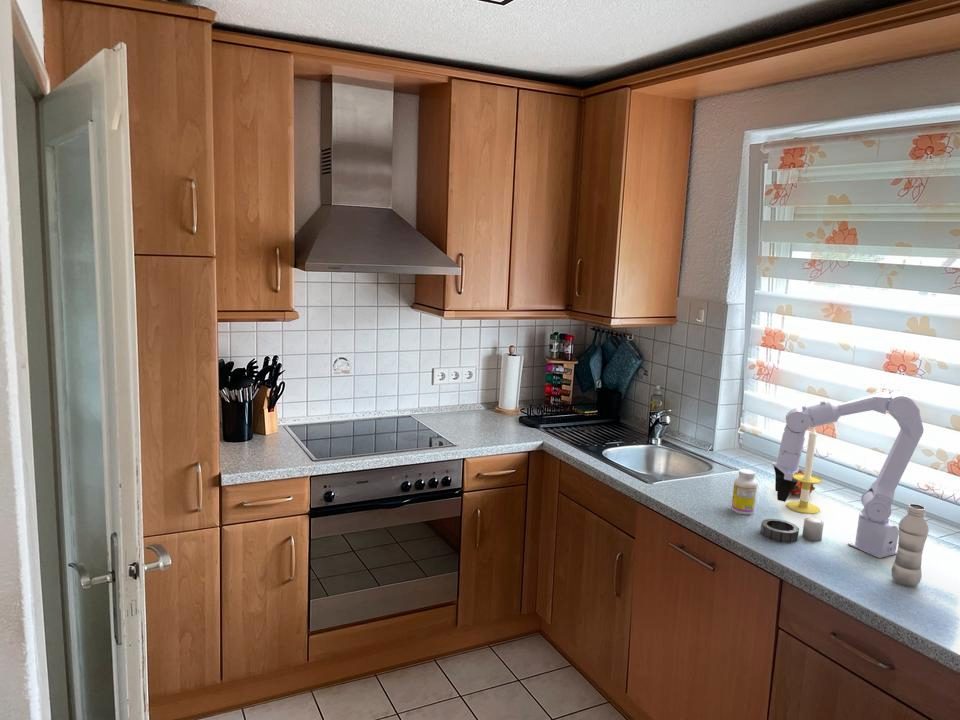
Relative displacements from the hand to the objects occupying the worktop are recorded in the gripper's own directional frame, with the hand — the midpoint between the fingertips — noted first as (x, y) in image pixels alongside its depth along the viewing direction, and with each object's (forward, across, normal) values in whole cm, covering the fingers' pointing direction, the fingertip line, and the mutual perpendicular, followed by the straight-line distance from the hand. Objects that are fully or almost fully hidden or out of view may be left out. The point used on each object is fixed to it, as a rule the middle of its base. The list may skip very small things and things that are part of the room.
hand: (780, 496), depth 204 cm
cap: (+10, +1, +10) cm, 14 cm away
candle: (+10, -24, +10) cm, 28 cm away
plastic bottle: (+8, +22, +29) cm, 37 cm away
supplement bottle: (+12, -12, -8) cm, 18 cm away
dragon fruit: (+10, -36, +10) cm, 39 cm away
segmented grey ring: (+10, +3, +2) cm, 11 cm away
